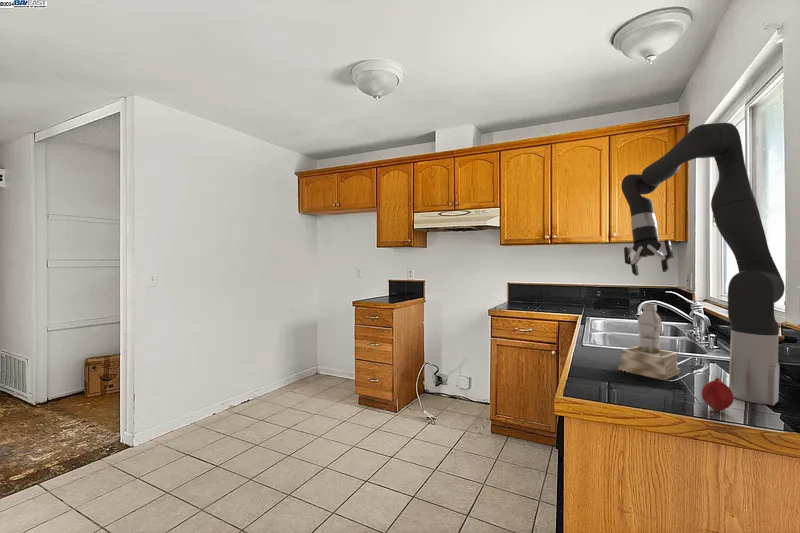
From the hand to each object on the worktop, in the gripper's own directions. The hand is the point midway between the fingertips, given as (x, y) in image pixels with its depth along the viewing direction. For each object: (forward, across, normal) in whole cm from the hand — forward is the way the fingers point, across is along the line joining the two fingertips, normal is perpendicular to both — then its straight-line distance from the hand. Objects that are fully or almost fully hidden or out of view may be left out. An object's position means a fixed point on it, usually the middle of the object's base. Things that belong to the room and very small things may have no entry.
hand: (650, 273), depth 135 cm
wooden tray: (+32, -3, -5) cm, 33 cm away
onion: (+40, +18, -31) cm, 54 cm away
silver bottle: (+31, -3, -5) cm, 31 cm away
